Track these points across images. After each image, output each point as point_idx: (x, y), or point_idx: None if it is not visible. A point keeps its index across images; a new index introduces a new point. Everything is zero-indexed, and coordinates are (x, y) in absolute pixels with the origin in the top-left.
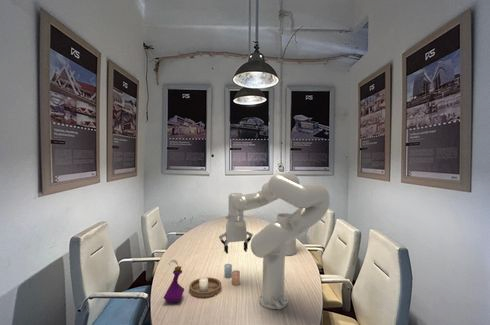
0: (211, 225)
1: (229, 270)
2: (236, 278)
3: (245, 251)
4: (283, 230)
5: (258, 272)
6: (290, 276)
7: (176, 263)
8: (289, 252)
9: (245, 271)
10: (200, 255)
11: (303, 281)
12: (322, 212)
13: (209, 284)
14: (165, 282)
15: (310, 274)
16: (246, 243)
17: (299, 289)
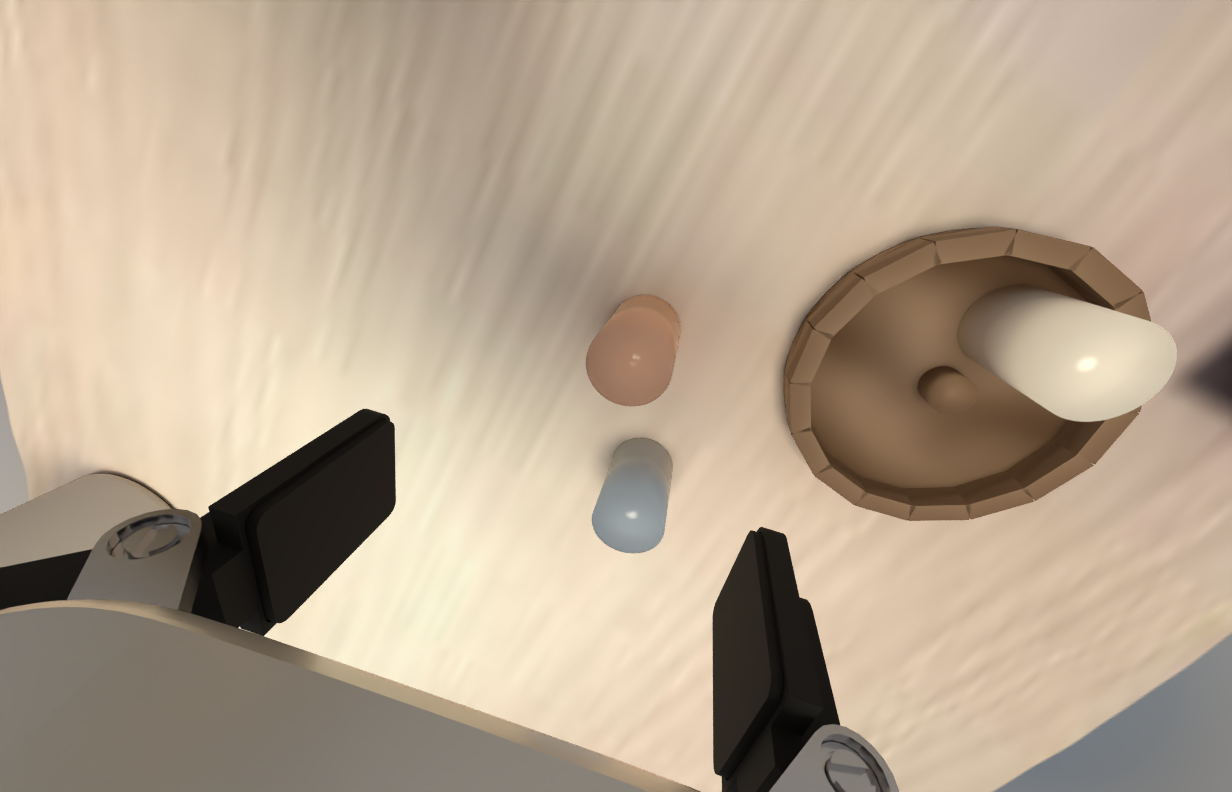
0: None
1: (636, 474)
2: (649, 314)
3: (388, 421)
4: None
5: (404, 394)
6: (184, 201)
7: None
8: (99, 490)
9: (488, 458)
10: (668, 769)
11: (94, 54)
12: None
13: (866, 419)
14: (1122, 637)
15: (21, 144)
16: (213, 540)
17: None
